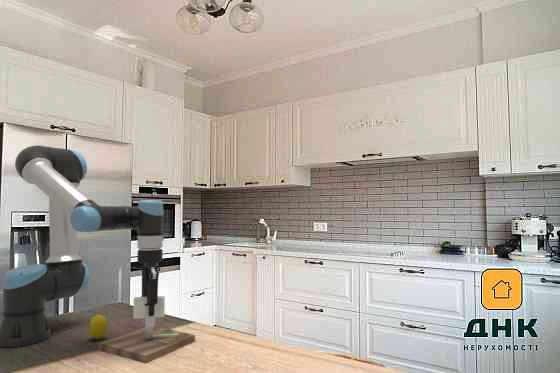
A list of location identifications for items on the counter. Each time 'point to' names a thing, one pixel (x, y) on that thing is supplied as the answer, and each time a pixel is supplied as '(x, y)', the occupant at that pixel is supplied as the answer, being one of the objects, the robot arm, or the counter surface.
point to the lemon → (98, 326)
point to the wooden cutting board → (146, 344)
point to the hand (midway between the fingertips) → (148, 324)
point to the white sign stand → (140, 312)
